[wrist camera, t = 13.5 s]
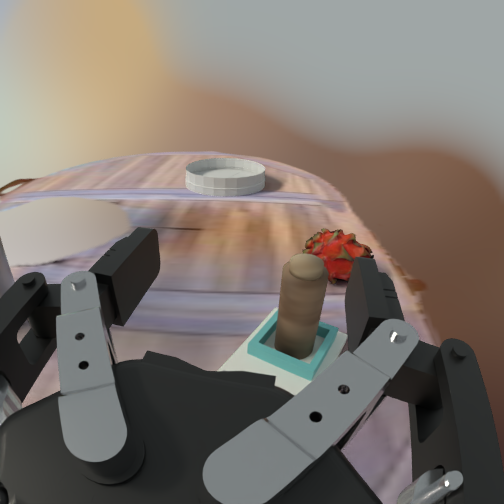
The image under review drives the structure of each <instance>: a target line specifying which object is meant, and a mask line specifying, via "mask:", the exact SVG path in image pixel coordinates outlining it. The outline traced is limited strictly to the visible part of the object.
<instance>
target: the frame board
mask: <svg viewBox="0 0 504 504" xmlns="http://www.w3.org/2000/svg"><path fill="white" fill-rule="evenodd" d="M277 318H278V308H276V307H275V308H274V309H273V310H272V312H271V313H270V314H269V315H268V316H267V317H266V318H265V319H264V321H263V322H262V323H261V324H260V325H259V326H258V327H257V328H256V329H255V331H254V332H253V333H252V334H251V335H250V336H249V337H248V338H247V339H246V341H245V342H244V343H243V344H242V345H241V346H240V347H239V348H238V349H237V350H236V351H235V352H234V354H233V355H232V356H231V357H230V358H229V359H228V360H227V361H226V362H225V363H224V364H223V365H222V366H221V368H220V369H219V370H218V371H247V372H253V373H260V374H266V375H273V376H276V380H275V386H277V387H280V388H282V389H284V390H286V391H288V392H290V393H291V394H293V395H297V394H298V393H299V392H300V391H301V390H303V389H304V388H305V387H306V386H307V385H308V384H309V383H311V382H312V381H313V380H314V379H315V378H316V377H317V376H319V375H320V374H321V373H322V372H323V371H324V370H325V369H326V368H328V367H329V366H330V365H331V364H332V363H333V362H334V361H335V360H336V359H337V358H338V357H339V355H340V353H341V351H342V349H343V347H344V345H345V343H346V340H347V337H348V335H347V334H344V333H342V332H339V331H338V329H339V328H337V327H334V326H331V325H328V324H326V323H323V322H320V321H319V325H318V329H317V334H316V338H315V343H314V347H313V351H312V353H311V354H310V355H309V356H308V357H306V358H304V359H300V360H298V359H296V358H294V357H291V356H289V355H286V354H284V353H282V352H279V351H277V350H276V349H275V346H274V343H275V335H276V326H277Z"/></svg>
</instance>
